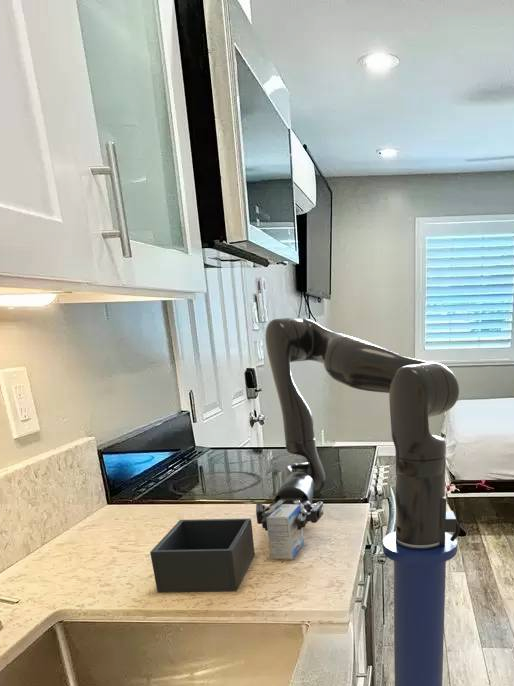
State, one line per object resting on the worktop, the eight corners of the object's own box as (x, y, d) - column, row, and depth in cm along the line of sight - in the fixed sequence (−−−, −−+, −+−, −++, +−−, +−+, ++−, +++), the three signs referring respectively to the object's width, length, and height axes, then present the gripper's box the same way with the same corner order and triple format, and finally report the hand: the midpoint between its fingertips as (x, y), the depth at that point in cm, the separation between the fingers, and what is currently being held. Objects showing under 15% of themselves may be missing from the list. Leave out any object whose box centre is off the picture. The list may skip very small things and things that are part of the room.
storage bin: (254, 554, 111) (250, 518, 108) (236, 591, 97) (231, 550, 94) (185, 556, 111) (180, 519, 109) (157, 593, 97) (149, 552, 94)
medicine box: (292, 560, 108) (289, 517, 105) (270, 559, 109) (265, 516, 106) (304, 544, 115) (301, 504, 112) (282, 543, 116) (279, 503, 113)
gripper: (259, 482, 122) (242, 507, 106) (326, 480, 121) (319, 506, 106) (263, 515, 124) (246, 544, 109) (328, 513, 124) (321, 543, 109)
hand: (282, 525), depth 107 cm, fingers open, 5 cm apart
